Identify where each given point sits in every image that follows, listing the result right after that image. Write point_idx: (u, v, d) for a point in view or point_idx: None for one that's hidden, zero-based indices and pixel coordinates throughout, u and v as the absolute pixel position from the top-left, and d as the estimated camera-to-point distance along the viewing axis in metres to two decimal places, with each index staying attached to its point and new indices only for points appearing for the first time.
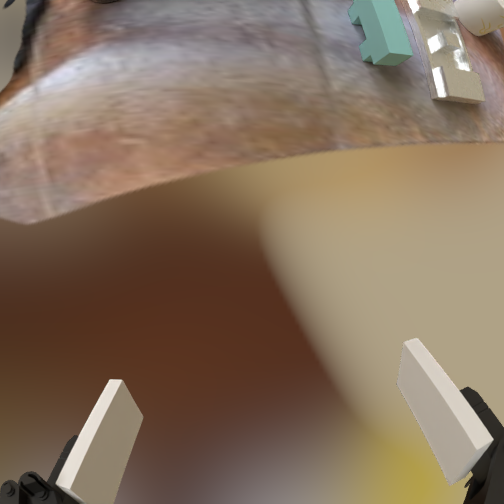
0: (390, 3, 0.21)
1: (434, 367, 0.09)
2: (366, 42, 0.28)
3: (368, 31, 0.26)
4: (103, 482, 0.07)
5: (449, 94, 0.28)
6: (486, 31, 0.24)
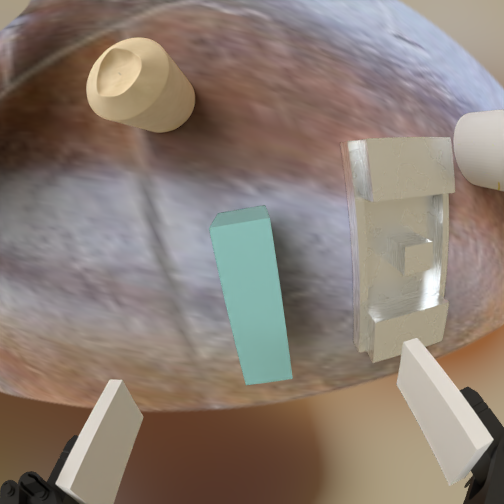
0: (267, 286, 0.17)
1: (434, 367, 0.09)
2: None
3: None
4: (103, 482, 0.07)
5: (373, 360, 0.25)
6: None
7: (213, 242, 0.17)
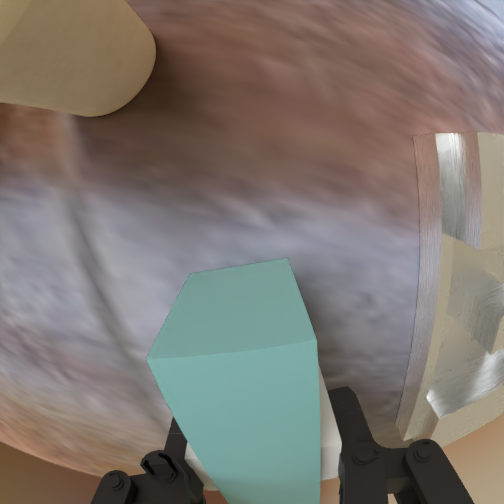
0: (293, 455, 0.07)
1: None
2: None
3: None
4: None
5: None
6: None
7: (163, 388, 0.06)
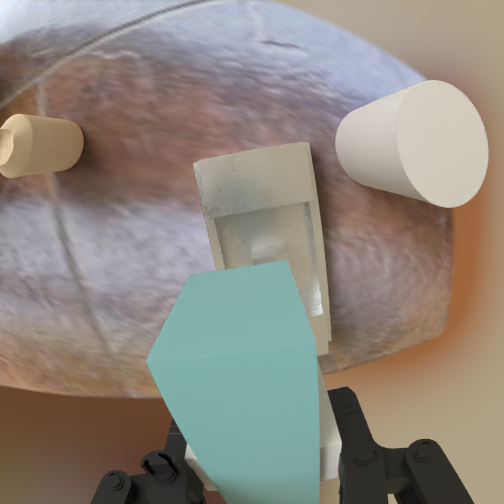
0: (292, 456, 0.07)
1: None
2: None
3: None
4: None
5: None
6: None
7: (162, 390, 0.06)
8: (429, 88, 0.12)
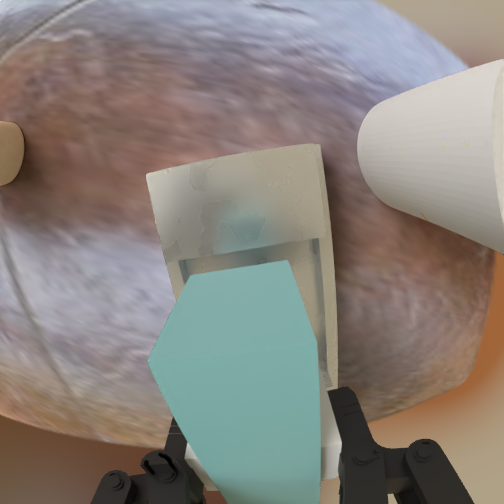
0: (293, 456, 0.07)
1: None
2: None
3: None
4: None
5: None
6: None
7: (164, 390, 0.06)
8: None
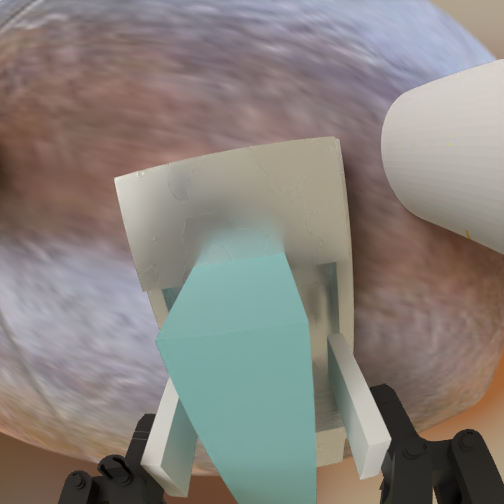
0: (289, 436, 0.07)
1: (349, 361, 0.11)
2: None
3: None
4: (183, 457, 0.09)
5: None
6: None
7: (169, 368, 0.06)
8: None
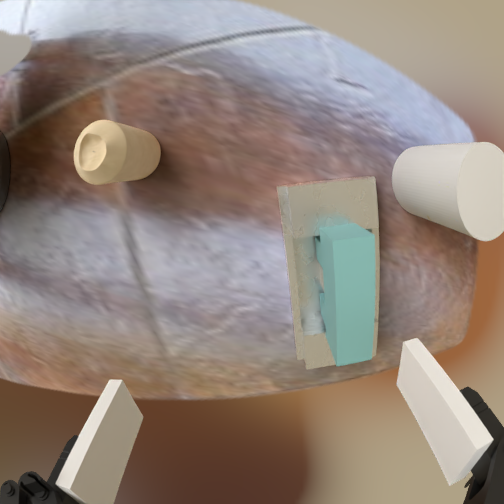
0: (366, 285, 0.22)
1: (434, 367, 0.09)
2: (324, 308, 0.28)
3: (327, 304, 0.27)
4: (103, 482, 0.07)
5: None
6: None
7: (334, 251, 0.21)
8: (480, 149, 0.16)
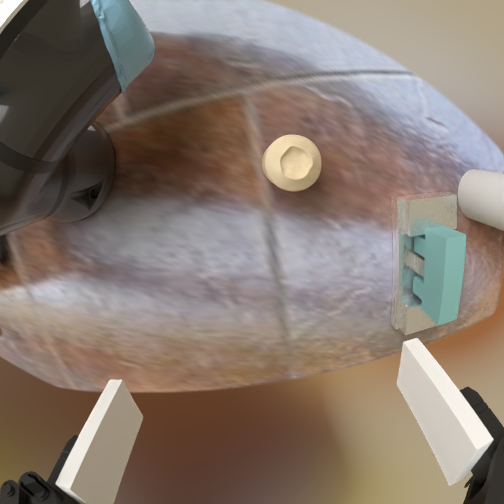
0: (460, 267, 0.29)
1: (434, 367, 0.09)
2: (422, 287, 0.35)
3: (427, 283, 0.34)
4: (103, 482, 0.07)
5: (405, 333, 0.37)
6: None
7: (446, 245, 0.28)
8: None
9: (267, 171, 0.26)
